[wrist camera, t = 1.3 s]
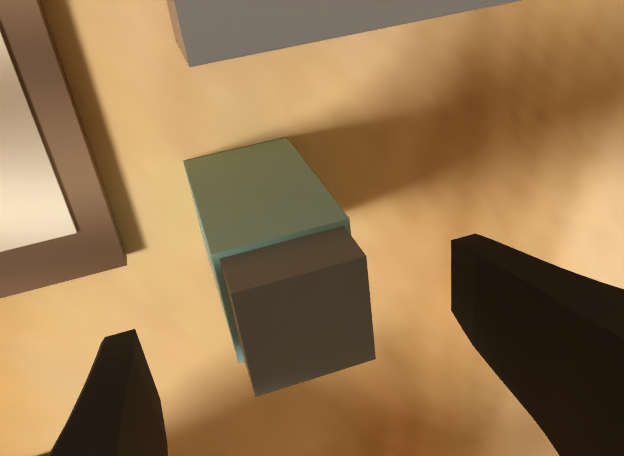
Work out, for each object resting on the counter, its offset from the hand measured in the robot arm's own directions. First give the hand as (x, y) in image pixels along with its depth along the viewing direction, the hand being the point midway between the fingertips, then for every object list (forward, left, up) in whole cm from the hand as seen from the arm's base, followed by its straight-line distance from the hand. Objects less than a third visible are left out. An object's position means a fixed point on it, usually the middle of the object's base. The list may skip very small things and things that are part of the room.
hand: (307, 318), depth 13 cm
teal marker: (0, 0, -7) cm, 7 cm away
